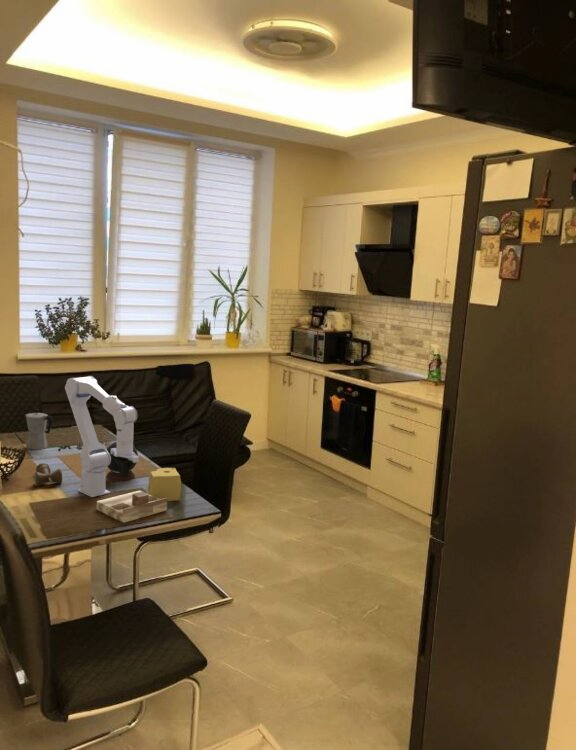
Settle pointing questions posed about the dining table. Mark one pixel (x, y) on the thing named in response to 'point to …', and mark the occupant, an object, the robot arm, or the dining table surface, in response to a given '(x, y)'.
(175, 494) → the cheese
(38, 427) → the coffeepot
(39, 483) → the kendama
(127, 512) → the divided wooden tray
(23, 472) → the dining table surface
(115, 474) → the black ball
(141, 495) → the walnut cube
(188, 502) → the dining table surface
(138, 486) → the dining table surface
